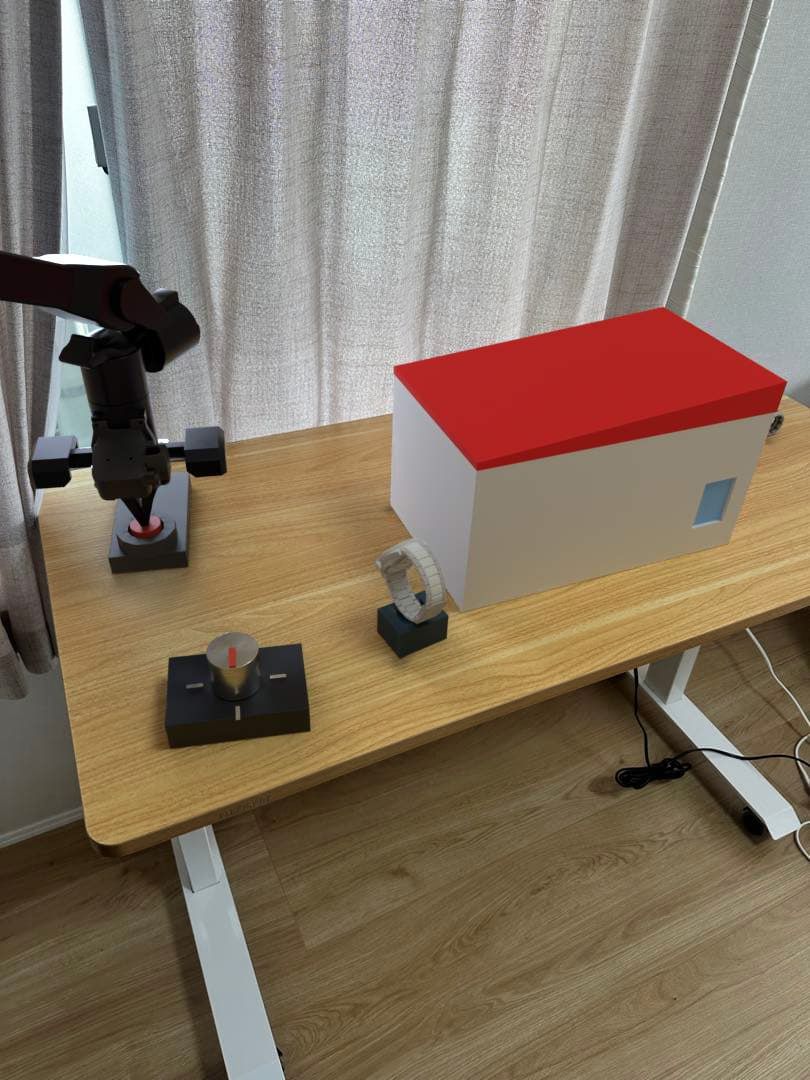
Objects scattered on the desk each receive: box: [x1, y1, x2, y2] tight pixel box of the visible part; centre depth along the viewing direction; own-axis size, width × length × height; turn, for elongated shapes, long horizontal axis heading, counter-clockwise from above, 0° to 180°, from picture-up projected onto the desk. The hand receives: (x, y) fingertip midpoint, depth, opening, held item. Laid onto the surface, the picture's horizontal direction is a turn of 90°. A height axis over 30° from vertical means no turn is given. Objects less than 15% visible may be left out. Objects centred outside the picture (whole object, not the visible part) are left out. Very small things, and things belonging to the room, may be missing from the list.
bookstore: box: [389, 306, 788, 613], centre depth 90 cm, size 21×35×21 cm, turn 112°
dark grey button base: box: [107, 470, 192, 575], centre depth 92 cm, size 16×8×4 cm, turn 11°
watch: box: [374, 538, 450, 659], centre depth 77 cm, size 6×8×11 cm
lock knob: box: [205, 631, 262, 701], centre depth 70 cm, size 4×4×4 cm
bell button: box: [130, 516, 162, 538], centre depth 87 cm, size 3×3×2 cm
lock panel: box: [164, 642, 312, 750], centre depth 72 cm, size 12×9×3 cm
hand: (145, 523), depth 86 cm, fingers closed, pressing on bell button
